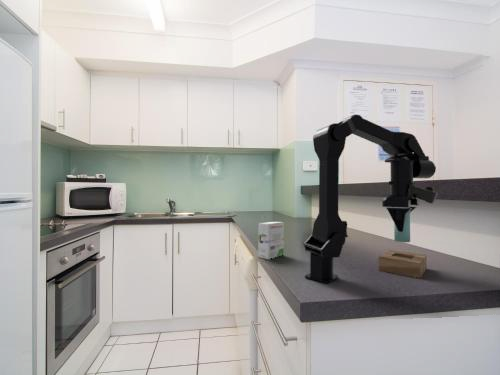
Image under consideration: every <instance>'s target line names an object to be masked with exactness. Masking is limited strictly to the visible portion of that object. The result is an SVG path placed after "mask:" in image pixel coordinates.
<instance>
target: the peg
mask: <svg viewBox="0 0 500 375" xmlns="http://www.w3.org/2000/svg"><path fill="white" fill-rule="evenodd" d="M408 208H410V207H408ZM393 224H394V225H393V227H394V229H393V230H394V231H393V232H394V234H393V235H394V236H393V238H394V241H395V242H399V243H411V213H410V211H409V212H407V213H406V217H405V223H404V228H403V232H399V231H398V230H397V228H396V225H395V223H394V222H393Z"/></svg>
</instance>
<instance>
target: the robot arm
mask: <svg viewBox="0 0 500 375" xmlns="http://www.w3.org/2000/svg"><path fill="white" fill-rule="evenodd" d="M351 135H355V136H357V137H359V138H362V139H365V140H366V141H368V142H371V143H372V144H376V145H378V146H380V147H381V149H382V151H383V152H385V153H386V154H388V155H389V156H388V157H386V159H385V160H384V163H386V164H387V163H388V164H389V163H390V181H388V185H389V186H390V194H388V196H385V197H384V198H383V199H382V204H381V205H382V207H383V208H384V207H385V209H386V210H387V211H388V214H389V215H390V217H391V220H392V221H393V224H394V223H395V225H396V228H397V230H398V231H399V232H403V228H404V223H405V217H406V213H407V212H409V211H410V214H411V213H412V212H414V210H415V209H417V206H420V200H422V201H425V203H428V204H435V201H436V198H437V197H438V195H439V192H438V191H437V192H436V191H435V188H434V187H432V186H428V185H427V186H426V187H424V188H422V187H420V186H417V185H416V182H415V181H414V179H430V178H432V177H433V176H434V175H435V173H436V171H437V167H436V164H435V163H434V162H433V161H432V160H430V157H429V155H426V154H425V152H424V150H423V149H422V147H421V144H420V143H419V142H418V139H417V137H416V136H415V135H414V134H413V133H409V132H405V131H393V130H389V129H387V128H386V127H383V126H381V125H379V124H377V123H374V122H372V121H369V120H368V119H365V118H363V117H362V116H361V114H353V115H350V116H348V117H346V118H344V119H343V120H341V121H339V122H338V123H337V122H336V123H335V122H334V123H331V124H328V125H327V126H324V127H321V128H319V129H318V130H316V132H314V133H313V137H312V142H313V148H314V149H313V150H314V152H315V153H316V156H317V159H318V160H319V162H318V163H319V165H318V166H319V168H318V169H319V170H318V171H319V173H318V174H319V178H318V179H319V182H318V185H319V186H318V192H319V193H318V213H317V216H316V219H315V220H314V222H313V227H312V233H311V235H309V237H308V238H307V239H306V240H305V241H304V242H303V247H304V250H305V252H309V253H310V256H309V258H310V261H309V271H310V272H309V273H307V274H305V275H304V278H306V279H309V280H313V281H317V282H320V283H321V282H322V283H324V284H329V283H331V282H333V281H335V280H337V279H338V278H339V275H337V274H334V258H340V256H341V254H342V250H343V247H344V245H345V243H346V238H348V233H347V232H348V231H347V230H348V222H347V220H342V219H341V217H340V214H339V188H340V187H339V180H340V179H339V178H340V177H339V168H340V166H339V165H340V163H339V162H340V157H342V153H343V151H344V149H345V147H346V140H347V138H348V137H349V136H351ZM408 207H410V208H408Z"/></svg>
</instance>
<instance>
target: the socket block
mask: <svg viewBox="0 0 500 375" xmlns="http://www.w3.org/2000/svg"><path fill="white" fill-rule="evenodd" d="M427 261H428V259H427V254H421V253H414V252H413V253H412V252H407V251H406V252H405V251H399V250H392V249H388V250H387V251H385V252H383V253H381V254H380V255H379V256H378V271H381V272H384V273H386V272H387V273H391V274H395V275H396V274H397V275H402V276H405V275H406V276H405V277H411V276H413V277H412V278H416V277H421V278H422V277H423V275H424V273H425V272H426V271H427V269H428V268H427V267H428V266H427V265H428V264H427ZM426 268H427V269H426ZM424 271H425V272H424ZM422 274H423V275H422Z"/></svg>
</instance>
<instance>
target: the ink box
mask: <svg viewBox="0 0 500 375" xmlns="http://www.w3.org/2000/svg"><path fill="white" fill-rule="evenodd" d="M257 235H258V236H257V237H258V244H257V245H258V246H257V251H258V252H257V255H258V256H257V258H261V259H265V260H271V258H272V259H276V258H279V256H280V257H283V256H284V254H285V253H284V251H285V246H284V244H285V242H284V241H285V222H283V221H269V222H259V223H258V234H257ZM282 255H283V256H282ZM275 257H276V258H275Z"/></svg>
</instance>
